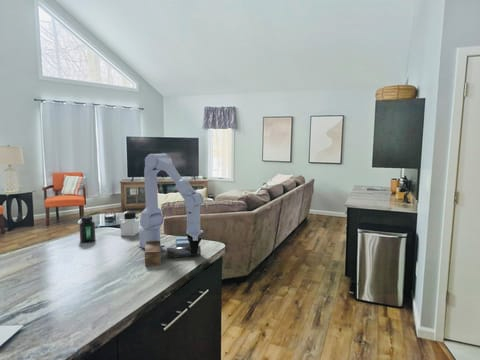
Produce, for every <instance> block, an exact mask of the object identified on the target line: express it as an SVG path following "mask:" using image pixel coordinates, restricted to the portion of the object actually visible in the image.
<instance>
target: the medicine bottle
mask: <svg viewBox="0 0 480 360" xmlns="http://www.w3.org/2000/svg"><path fill="white" fill-rule="evenodd" d="M136 213H137V212H135V211H133V210H129V211H127V210H126V211H124V212H123V221H120V225H119V226H120V236H123V237H125V236H126V237H128V236H129V237H134V236H136V235H138V234H139V232H140V219H137V217H136Z"/></svg>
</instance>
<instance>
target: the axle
mask: <svg viewBox="0 0 480 360" xmlns="http://www.w3.org/2000/svg"><path fill="white" fill-rule="evenodd" d="M201 251H202V250H201V246H200V245H199V246H198V251H197V254H192V253H191V247H176V246H175V247H167V248H166V252H167V253H166V258H182V257H183V258H184V257H195V256H201V254H202V253H201Z"/></svg>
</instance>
